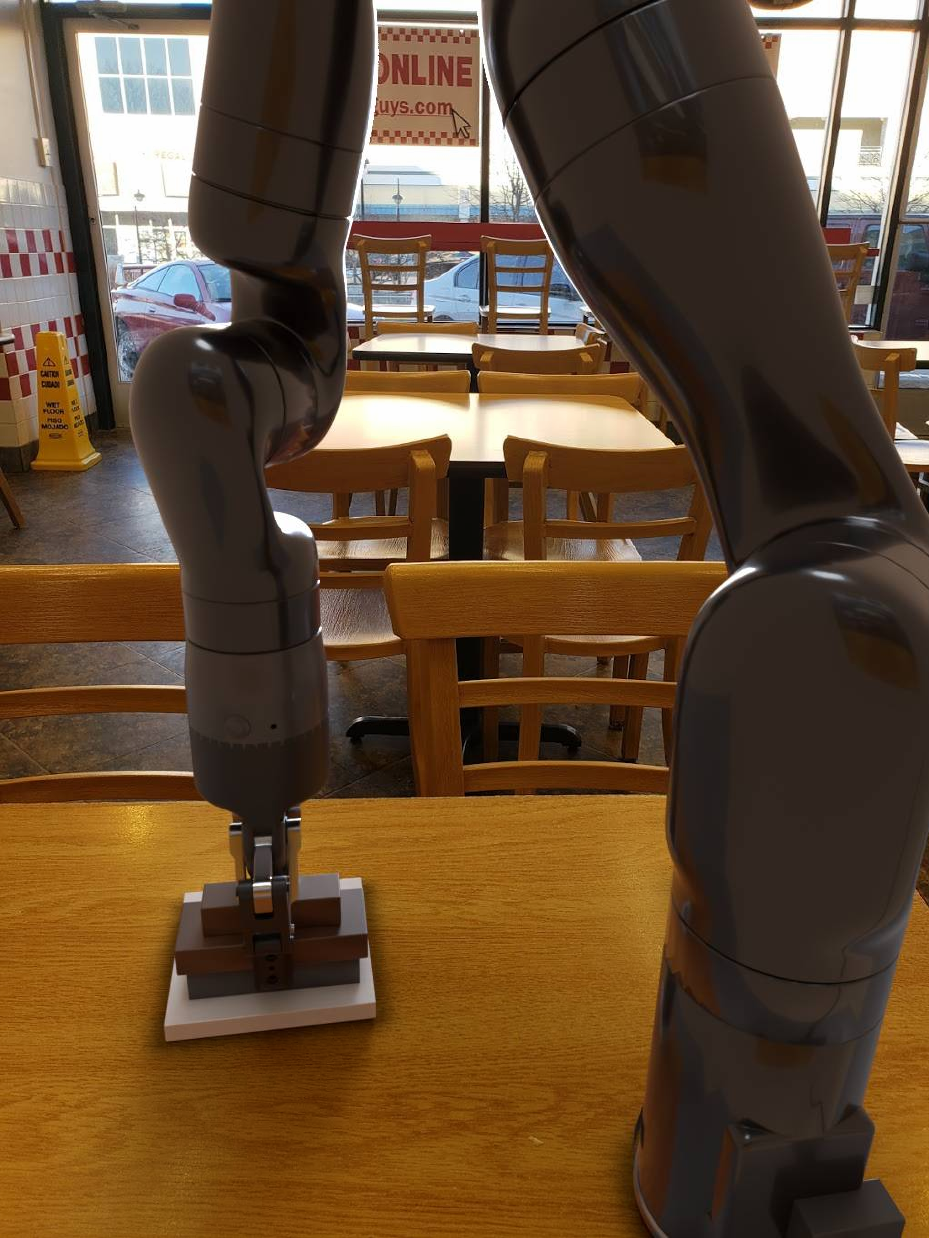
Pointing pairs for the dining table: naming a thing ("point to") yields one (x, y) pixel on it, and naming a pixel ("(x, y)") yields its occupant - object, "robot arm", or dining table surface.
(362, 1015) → the tile
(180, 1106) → the dining table surface
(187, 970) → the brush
